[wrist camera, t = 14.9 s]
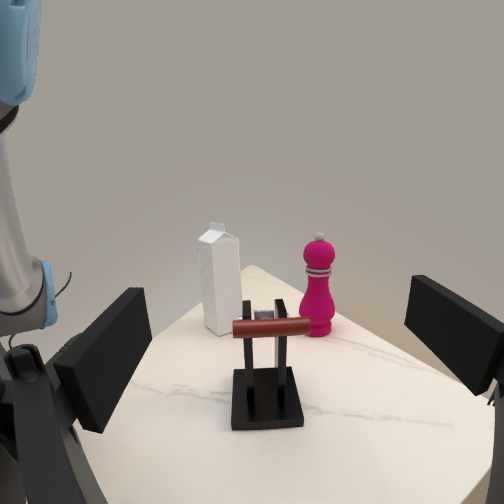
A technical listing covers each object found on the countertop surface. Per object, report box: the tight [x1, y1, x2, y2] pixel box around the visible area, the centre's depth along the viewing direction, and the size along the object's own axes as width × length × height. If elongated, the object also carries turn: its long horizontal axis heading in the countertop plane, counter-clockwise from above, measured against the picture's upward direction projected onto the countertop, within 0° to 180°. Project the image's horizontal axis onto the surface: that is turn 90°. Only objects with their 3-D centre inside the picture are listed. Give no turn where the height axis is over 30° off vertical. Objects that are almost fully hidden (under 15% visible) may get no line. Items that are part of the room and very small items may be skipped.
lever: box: [233, 310, 311, 338], centre depth 28 cm, size 14×6×2 cm, turn 2°
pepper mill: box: [299, 233, 335, 337], centre depth 54 cm, size 7×7×20 cm
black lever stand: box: [231, 299, 304, 430], centre depth 35 cm, size 12×9×15 cm
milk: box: [198, 222, 242, 336], centre depth 57 cm, size 6×6×22 cm
